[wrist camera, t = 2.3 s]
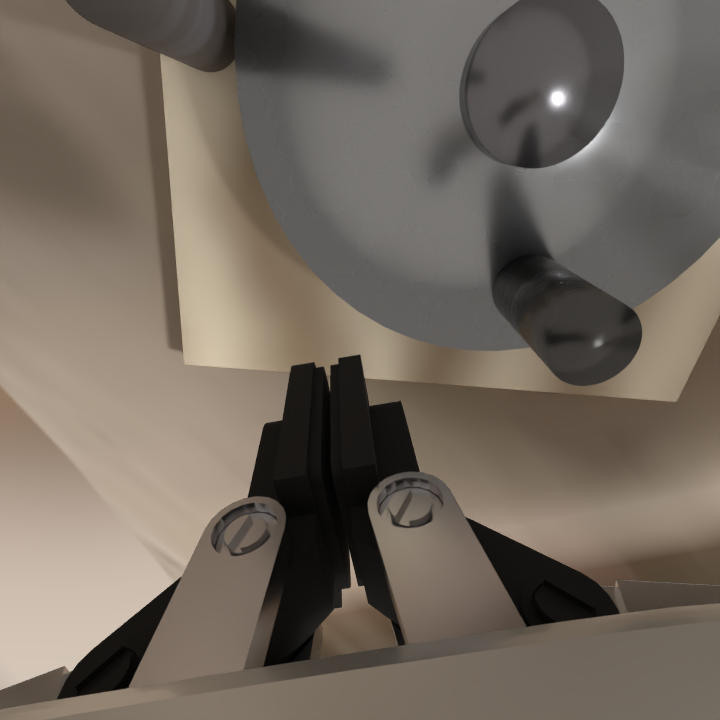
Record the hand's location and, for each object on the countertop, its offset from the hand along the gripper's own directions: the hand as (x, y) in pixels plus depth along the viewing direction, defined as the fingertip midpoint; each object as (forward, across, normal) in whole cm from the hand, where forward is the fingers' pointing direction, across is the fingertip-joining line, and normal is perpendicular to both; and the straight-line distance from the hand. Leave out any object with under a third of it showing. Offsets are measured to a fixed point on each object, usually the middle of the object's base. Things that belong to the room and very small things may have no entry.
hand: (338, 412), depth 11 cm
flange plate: (+8, -8, -7) cm, 13 cm away
